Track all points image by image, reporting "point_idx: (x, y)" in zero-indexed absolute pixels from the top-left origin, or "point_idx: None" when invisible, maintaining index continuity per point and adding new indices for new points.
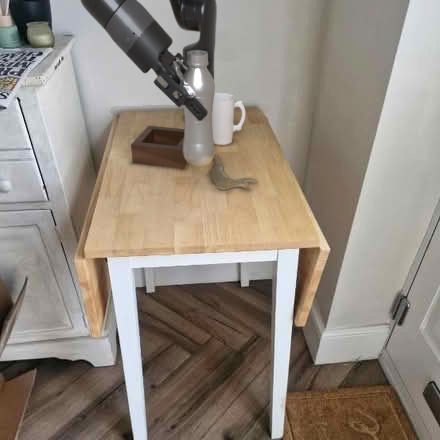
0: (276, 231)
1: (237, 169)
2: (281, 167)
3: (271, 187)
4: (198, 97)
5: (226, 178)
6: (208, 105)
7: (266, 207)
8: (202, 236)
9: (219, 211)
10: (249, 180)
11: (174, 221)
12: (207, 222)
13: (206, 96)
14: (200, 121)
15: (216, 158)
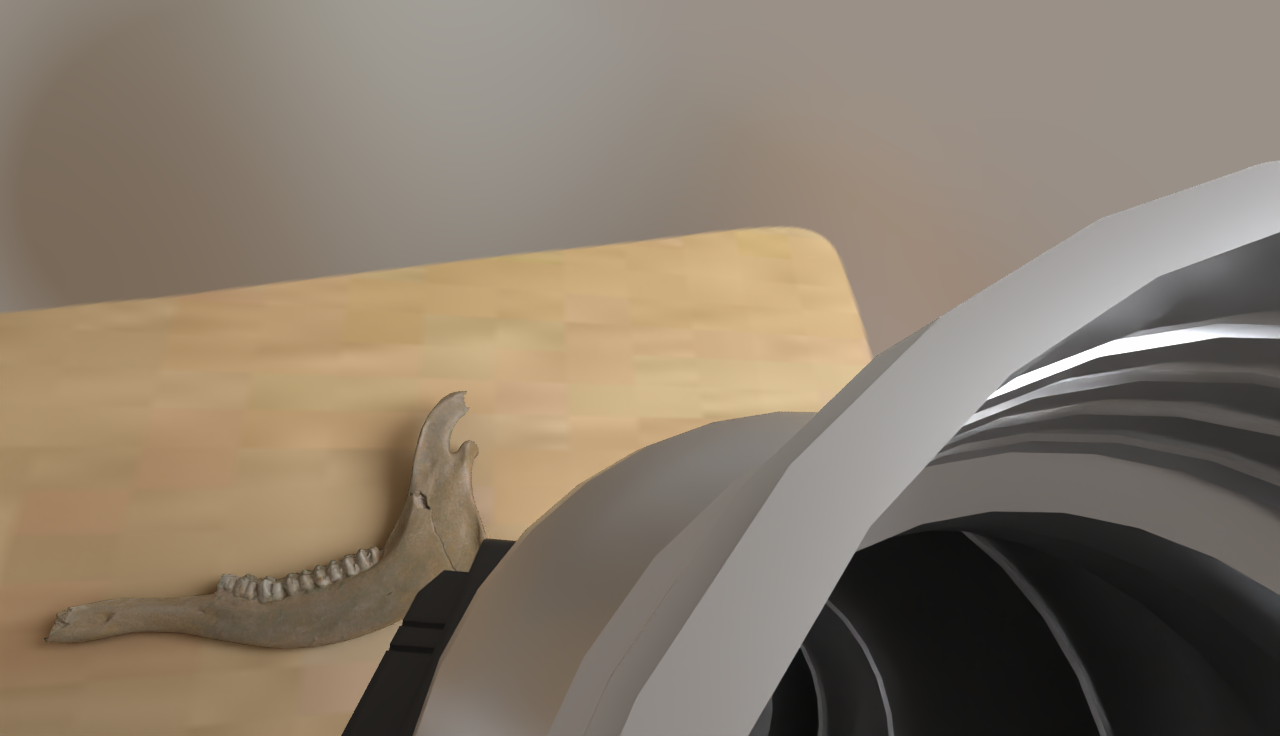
0: (804, 347)
1: (244, 501)
2: (258, 297)
3: (452, 348)
4: (1076, 722)
5: (398, 550)
6: (889, 566)
7: (629, 375)
8: None
9: None
10: (446, 431)
11: None
12: None
13: (998, 577)
14: (871, 681)
15: (111, 623)
